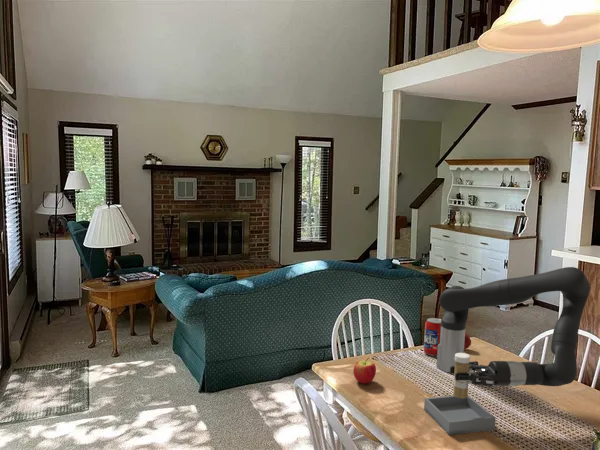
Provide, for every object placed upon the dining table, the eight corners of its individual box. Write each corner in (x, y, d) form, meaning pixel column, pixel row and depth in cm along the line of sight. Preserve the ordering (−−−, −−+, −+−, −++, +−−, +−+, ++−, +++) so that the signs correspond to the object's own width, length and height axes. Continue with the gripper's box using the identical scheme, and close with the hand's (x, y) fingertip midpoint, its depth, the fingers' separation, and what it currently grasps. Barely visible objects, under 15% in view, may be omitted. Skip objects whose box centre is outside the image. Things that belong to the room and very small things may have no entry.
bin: (448, 435, 145) (449, 422, 145) (423, 409, 160) (424, 398, 160) (494, 429, 149) (495, 417, 148) (466, 405, 164) (467, 394, 164)
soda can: (446, 355, 208) (448, 321, 207) (433, 358, 204) (435, 324, 202) (432, 349, 215) (434, 316, 213) (419, 352, 211) (421, 319, 209)
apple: (365, 389, 175) (366, 362, 173) (348, 381, 181) (349, 355, 180) (380, 382, 180) (381, 357, 179) (362, 375, 186) (363, 350, 185)
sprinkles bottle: (450, 396, 153) (452, 355, 152) (456, 391, 157) (458, 351, 155) (464, 400, 150) (466, 358, 149) (470, 395, 154) (472, 354, 152)
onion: (471, 352, 212) (472, 335, 211) (457, 351, 213) (458, 333, 212) (469, 348, 217) (470, 330, 217) (456, 346, 219) (457, 329, 218)
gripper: (498, 353, 160) (446, 353, 159) (517, 371, 145) (460, 370, 145) (497, 375, 160) (445, 375, 160) (516, 395, 146) (459, 394, 146)
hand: (453, 373), depth 153 cm, fingers closed on sprinkles bottle, 4 cm apart
